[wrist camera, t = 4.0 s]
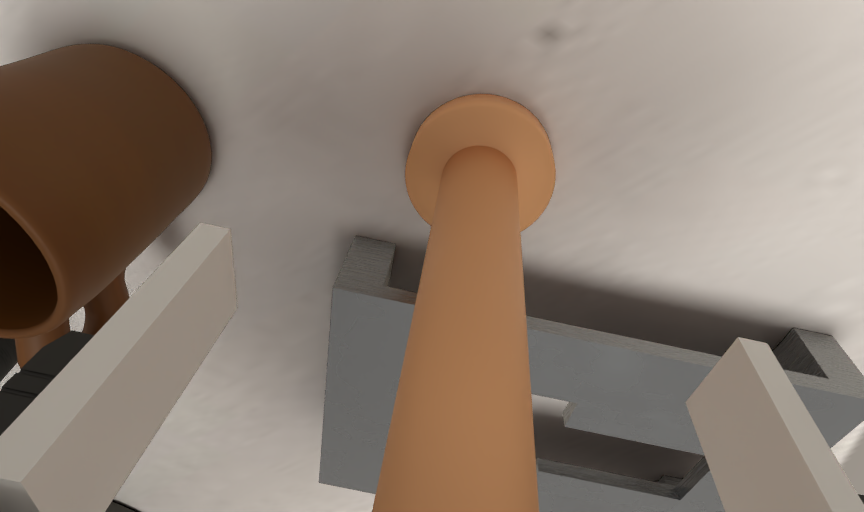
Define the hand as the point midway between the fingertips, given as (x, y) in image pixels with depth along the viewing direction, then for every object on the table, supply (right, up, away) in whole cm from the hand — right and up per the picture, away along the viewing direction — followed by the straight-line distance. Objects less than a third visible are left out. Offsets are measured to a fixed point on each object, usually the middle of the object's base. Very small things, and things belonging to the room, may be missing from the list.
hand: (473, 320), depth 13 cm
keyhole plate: (+6, -6, +16) cm, 18 cm away
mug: (-14, +6, +10) cm, 18 cm away
